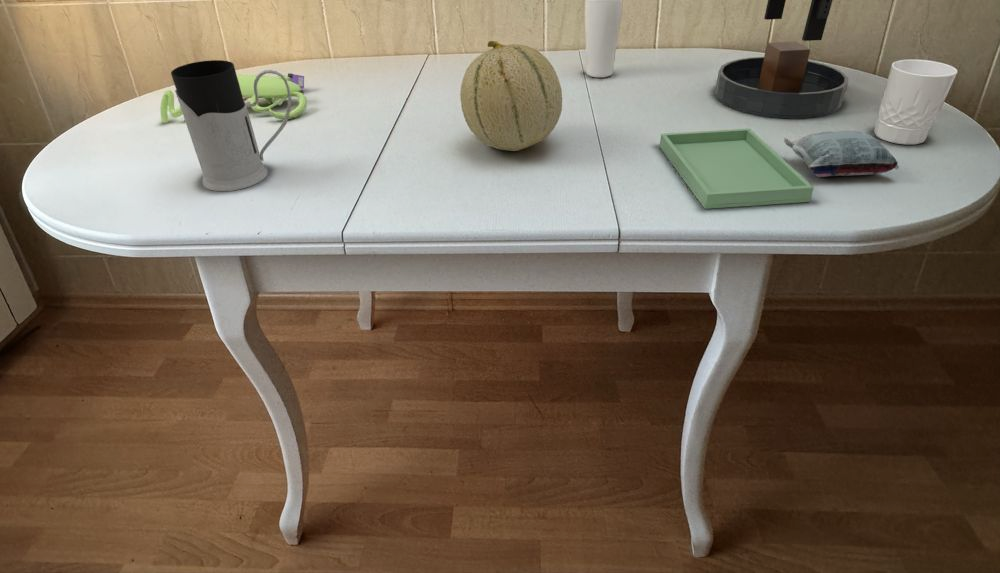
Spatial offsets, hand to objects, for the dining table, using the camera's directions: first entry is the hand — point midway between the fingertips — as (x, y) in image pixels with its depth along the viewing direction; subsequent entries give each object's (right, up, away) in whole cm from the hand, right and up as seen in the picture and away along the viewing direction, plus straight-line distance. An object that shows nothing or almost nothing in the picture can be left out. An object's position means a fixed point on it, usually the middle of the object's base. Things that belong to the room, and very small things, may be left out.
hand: (791, 29), depth 100 cm
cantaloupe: (-45, -21, -7) cm, 50 cm away
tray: (-16, -26, -16) cm, 35 cm away
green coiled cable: (-94, -9, +12) cm, 95 cm away
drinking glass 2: (-28, -1, +20) cm, 34 cm away
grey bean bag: (-2, -26, -16) cm, 31 cm away
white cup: (+12, -20, -8) cm, 24 cm away
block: (+1, -9, +6) cm, 11 cm away
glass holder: (-82, -26, -12) cm, 87 cm away
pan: (+1, -9, +6) cm, 11 cm away
